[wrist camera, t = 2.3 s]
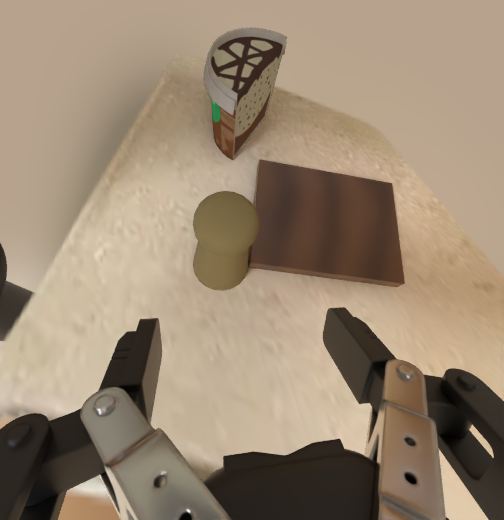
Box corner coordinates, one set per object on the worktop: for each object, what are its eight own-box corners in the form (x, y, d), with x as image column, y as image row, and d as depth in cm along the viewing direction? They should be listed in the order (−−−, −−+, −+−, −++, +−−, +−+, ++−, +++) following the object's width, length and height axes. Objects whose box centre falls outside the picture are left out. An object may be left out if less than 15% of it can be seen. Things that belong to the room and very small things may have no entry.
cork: (204, 298, 29) (203, 262, 18) (185, 248, 30) (174, 190, 20) (256, 278, 30) (282, 234, 20) (235, 232, 32) (248, 170, 22)
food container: (233, 91, 40) (241, 9, 31) (269, 111, 40) (289, 34, 30) (185, 145, 35) (178, 66, 26) (227, 167, 35) (234, 97, 26)
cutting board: (247, 267, 31) (249, 262, 29) (257, 167, 36) (259, 159, 34) (396, 287, 33) (405, 283, 31) (385, 189, 38) (392, 183, 36)
